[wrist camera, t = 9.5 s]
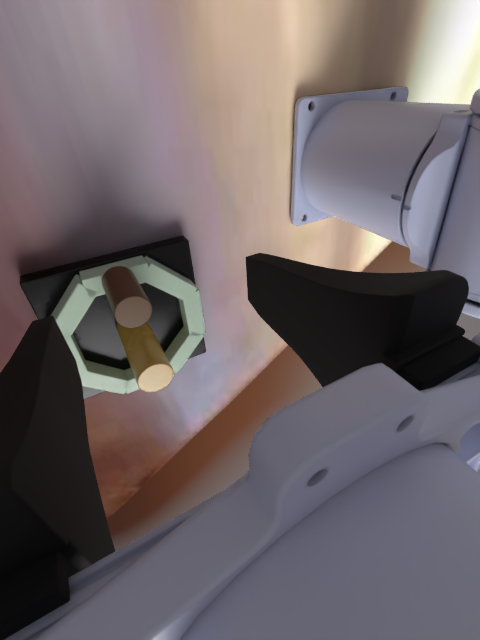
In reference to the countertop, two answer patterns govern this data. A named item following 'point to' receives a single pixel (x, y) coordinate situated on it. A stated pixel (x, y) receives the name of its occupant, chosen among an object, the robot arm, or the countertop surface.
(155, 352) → the peg stand
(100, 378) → the ring
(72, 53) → the countertop surface
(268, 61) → the countertop surface
